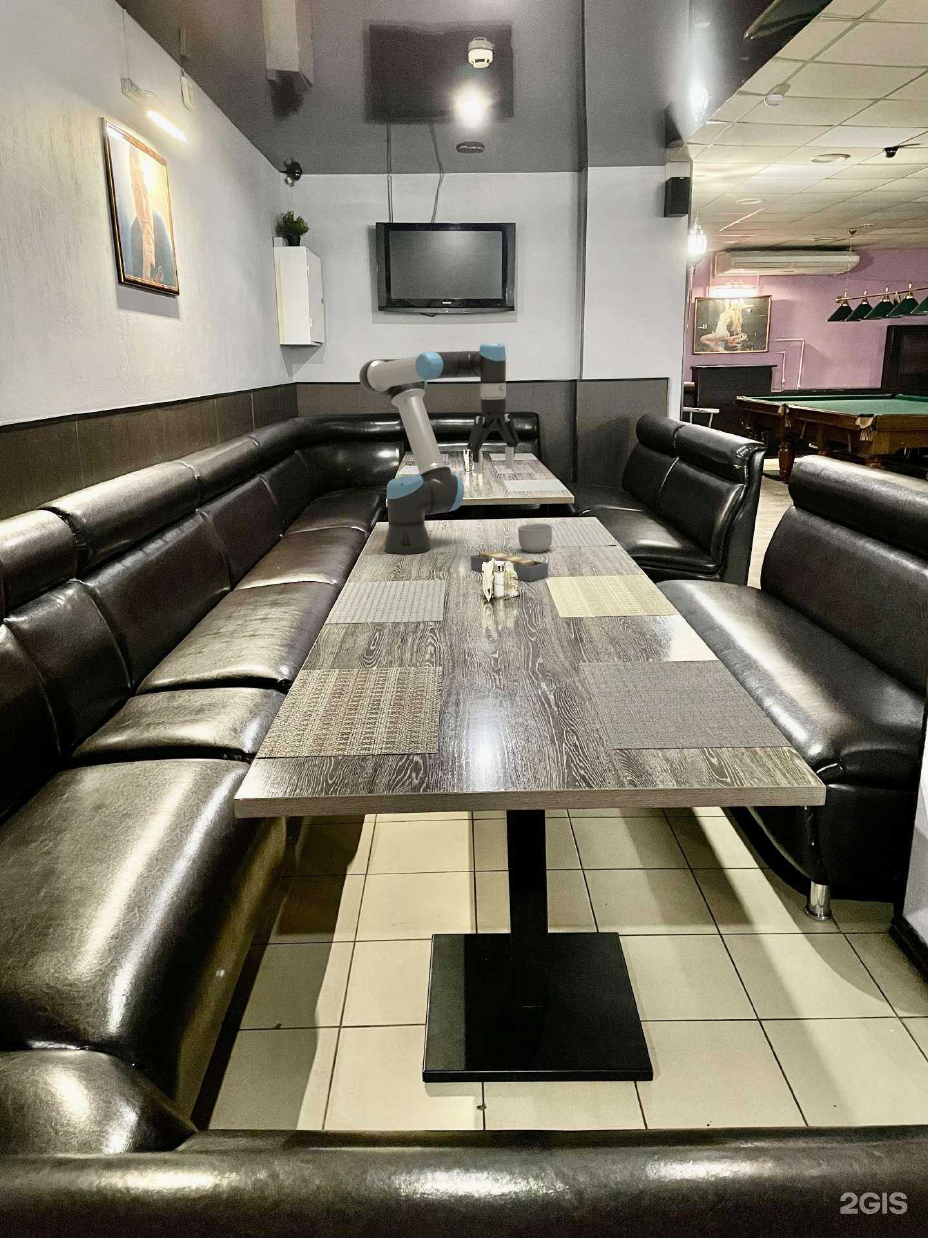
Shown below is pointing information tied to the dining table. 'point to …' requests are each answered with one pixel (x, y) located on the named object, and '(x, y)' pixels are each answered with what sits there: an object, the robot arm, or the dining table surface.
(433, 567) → the dining table surface
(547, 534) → the teacup
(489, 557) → the tan long bar
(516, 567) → the grey hollow tray
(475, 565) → the grey u-channel bracket
